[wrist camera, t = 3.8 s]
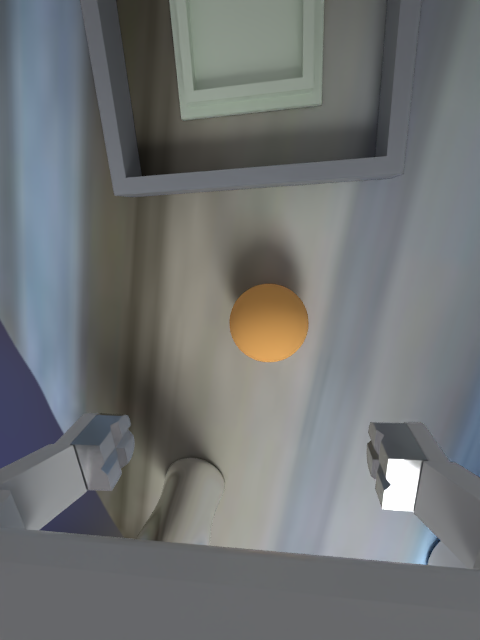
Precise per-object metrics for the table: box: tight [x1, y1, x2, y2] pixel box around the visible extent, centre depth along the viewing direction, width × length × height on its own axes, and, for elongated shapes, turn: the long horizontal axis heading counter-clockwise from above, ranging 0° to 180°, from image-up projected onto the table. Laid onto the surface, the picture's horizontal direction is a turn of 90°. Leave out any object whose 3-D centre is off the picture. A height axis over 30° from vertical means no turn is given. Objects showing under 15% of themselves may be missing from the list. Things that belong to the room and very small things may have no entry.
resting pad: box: [169, 0, 324, 121], centre depth 18 cm, size 9×9×1 cm
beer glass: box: [135, 458, 225, 546], centre depth 24 cm, size 7×7×15 cm
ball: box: [230, 284, 308, 362], centre depth 21 cm, size 6×6×6 cm
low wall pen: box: [80, 0, 422, 197], centre depth 17 cm, size 18×18×2 cm
